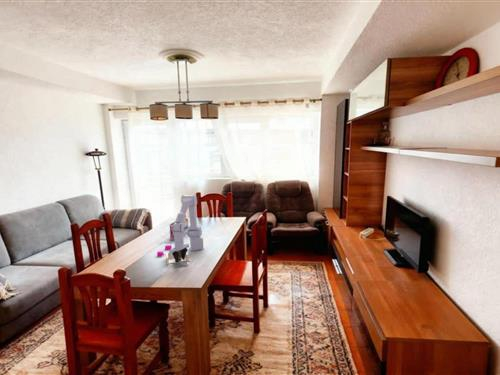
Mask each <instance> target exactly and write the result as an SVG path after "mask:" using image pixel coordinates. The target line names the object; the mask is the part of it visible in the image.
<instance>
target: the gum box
mask: <svg viewBox="0 0 500 375" xmlns="http://www.w3.org/2000/svg"><path fill="white" fill-rule="evenodd" d="M174 223H175V221H174V222H172V223H170V224H169V239H170V240H174V234H173V231H172V225H173V224H174ZM184 224H185V225H184V231H183V237H184V236H185V235H187V231H188V227H189V218H186V219H185V222H184Z"/></svg>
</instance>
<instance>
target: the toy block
mask: <svg viewBox="0 0 500 375" xmlns="http://www.w3.org/2000/svg"><path fill="white" fill-rule="evenodd" d="M171 249H173V248H172V244H166V245H165V247H164V251H169V250H171ZM164 251H161V250H159V251H156V255H157V257H163V256H164V255H165V253H164Z"/></svg>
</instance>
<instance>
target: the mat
mask: <svg viewBox="0 0 500 375" xmlns="http://www.w3.org/2000/svg"><path fill="white" fill-rule="evenodd" d="M172 266H173V269H179V268H184V267H188V266H189V265H188V262H187V261H183V262H178V263H172Z"/></svg>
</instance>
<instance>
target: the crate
mask: <svg viewBox="0 0 500 375" xmlns="http://www.w3.org/2000/svg"><path fill="white" fill-rule="evenodd" d="M165 256H166V257H165V259H166V260H165V261H166V264H167V265H170V264H172V265H173V263H177V262H176V261H175V258H174V256H173V255H172V254H170V253H169V251H168V252H165ZM185 261H189V253H188V251H187V252H186V255H185V260H183V259H182V257H181V260H178V263H179V262H185Z"/></svg>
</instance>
